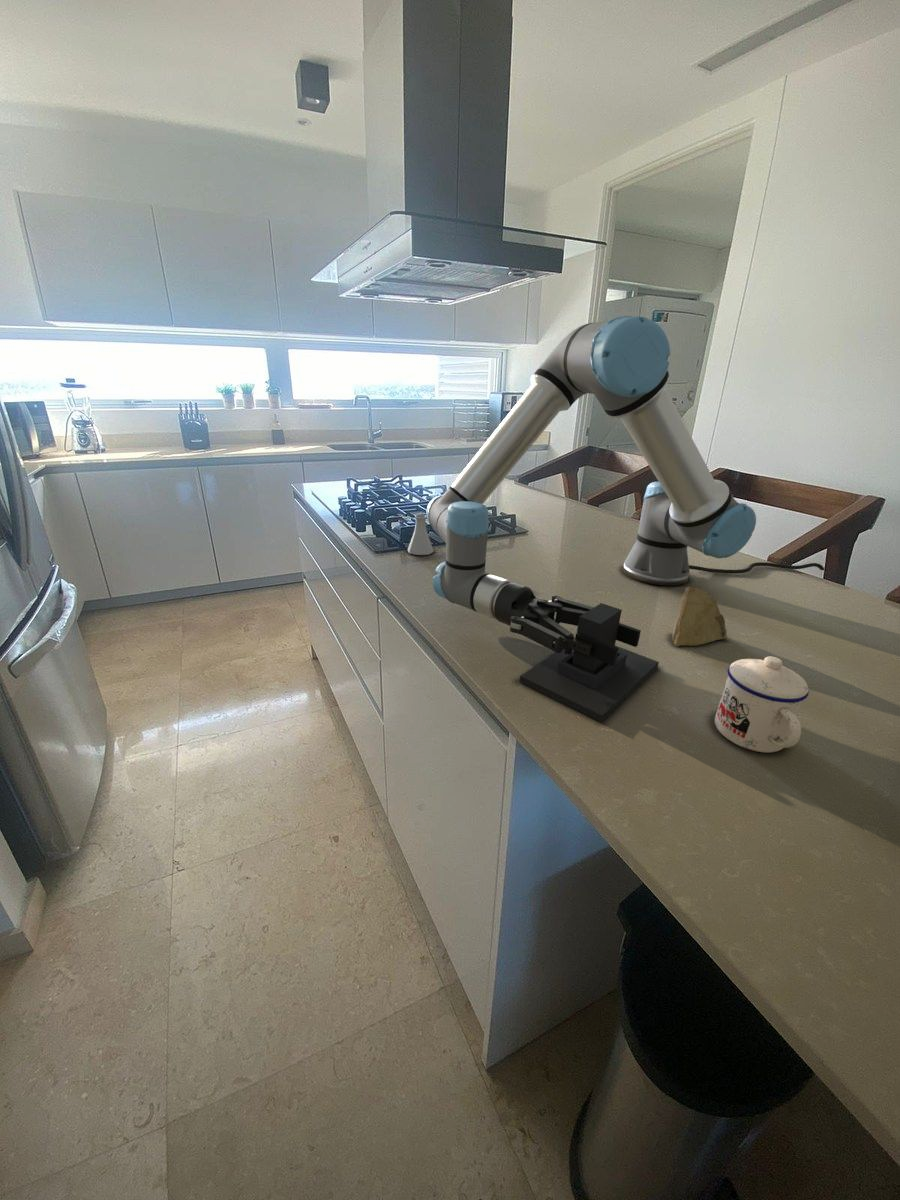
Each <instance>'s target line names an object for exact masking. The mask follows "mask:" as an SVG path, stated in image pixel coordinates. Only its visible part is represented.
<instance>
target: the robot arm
mask: <svg viewBox="0 0 900 1200" xmlns="http://www.w3.org/2000/svg"><path fill="white" fill-rule="evenodd" d="M670 356H671V345H670V342H669V339H668V336H667V334H666V332H665V331H664V329H663V328H662V326H660V325H659V324H658V322H656V321H654V320H652V319H650V318H648V317H645V316H640V315H639V316H633V315H623V316H618V317H615V318H612V319H610V320H603V321H597V322H589V323H585V324H582V325H580V326H578V327H576V328H575V329H573V330H572V331H570V332H569V333H568V334H566V336H564V338H562V340H560V341H559V343H558V344H557V345H556V346H555V347H554V348H553V350H551V352H550V353H549V354H548V355H547V357H546V358H545V359H544V360H543V361H542V363H541V364H540V365H539V366H538V368H537V369H536V370H535V372H534V373H533V374H532V375H531V377H530V385H529V388H528V389H526V391H525V392H524V394H523V395H522V396H521V398H519V400H518V401H517V403H516V404H515V405H514V406H513V407H512V409H511V410H510V411H509V412H508V414H507V415H506V416H505V418H504V419H503V420H502V421H501V422H500V424H499V425H498V426H497V428H496V429H495V430H494V431H493V432H492V434H491V435H490V436H489V437H488V439H487V440H486V441H485V443H483V445H482V446H481V447H480V449H479V450H478V451H477V452H476V454H475V455H474V456H473V458H472V459H471V460H470V461H469V462H468V463H467V465H465V467H464V469H463V470H462V471H461V472H460V473H459V475H458V476H457V478H456V479H455V480H454V481H453V483H452V484H451V485H450V486H449V487H448V488H447V490H446V491H445V492H444V493H443V494H439V495H437V496H435V497H433V498H431V500H430V501H429V502H428V504H427V506H426V509H425V515H426V516H427V518H426V520H427V521H428V523H429V525H430V527H431V528H432V530H433V531H434V533H436V534H437V535H439V537H440V538H441V539H442V540H443V542H445V560H444V561H443V562H441V563H439V565H438V566H437V567H436V568H435V570H434V572H435V573H434V575H433V576H432V587H433V588H432V589H433V590H434V592H435V593H436V595H437V596H439V597H441V598H443V599H444V600H447V601H448V602H450V603H451V604H455V605H459V606H461V607H464V608H467V609H468V610H472V611H474V612H476V613H478V614H481V615H484V616H486V617H488V618H489V619H493V620H496V621H498V622H499V623H502V624H504V625H506V626H509V632H511V633H514V634H517V635H521V636H523V637H525V638H527V639H529V640H531V641H533V642H535V643H537V644H539V645H541V646H543V647H544V648H547V649H549V650H550V651H553V652H554V653H555V652H557V653H561V652H562V649H565V651H564V654H567V655H569V654H571V651H572V649H573V650H575V651H578V652H580V653H583V654H585V655H588V656H590V657H593V658H595V659H598V660H600V661H603V662H605V663H607V664H610V665H612V666H613V665H615V664H616V659H617V653H618V647H619V646H618V647H615V646H616V645H615V646H612V645H610V644H607V643H605V642H602V641H599V640H597V639H594V638H591V637H589V636H586V635H584V634H581V633H577V632H576V633H575V634H574V633H573V632H571V631H569V630H568V629H567V628H565V627H564V626H562V625H561V624H566V625H571V626H576V627H578V622H579V616H581V615H583V614H584V613H586V612H587V611H589V610H591V609H592V608H594V607H595V606H591V605H587V604H584V603H580V602H576V601H574V600H571V599H570V600H569V599H566V598H563V597H562V596H559V595H558V594H557V595H556V594H552V596H551V599H549V600H548V599H544V598H540V597H539V598H538V597H536V595H535V594H534V592H533V589H531V587H529V586H526V585H524V584H520V583H517V582H515V581H511V580H510V579H507V578H503V577H501V576H497V575H494V574H492V573H489V572H487V571H486V563H487V562H486V561H487V559H486V558H487V549H488V548H487V547H488V535H489V534H488V533H489V528H490V523H489V509H488V507H487V505H485V502H486V501H487V500H488V499H489V497H490V496H491V495H492V494H493V493H494V491H495V490H496V489H497V488H498V486H499V485H500V484H501V483H502V482H503V481H504V479H505V478H506V477H507V476H508V475H509V473H510V472H511V471H512V470H513V469H514V468H515V466H516V465H517V464H518V462H519V461H521V459H522V457H523V456H524V455H525V454H526V453H527V452H528V451H529V449H531V447H532V445H534V443H535V442H536V441H537V440H538V439H539V437H540V436H541V435H542V434H543V433H544V431H545V430H547V429H546V428H548V426H549V425H550V424H551V423H552V422H553V420H554V419H555V418H556V417H557V416H558V415H559V413H560V412H564V411H565V412H566V411H568V410H569V409H570V408H571V407H572V406H573V405H574V403H575V402H576V401H577V400H578V399H580V398H581V397H583V396H584V395H587V394H589V395H590V394H592V395H594V396H595V398H596V400H597V401H598V403H599V404H600V406H601V407H602V409H603V411H604V412H605V414H606V416H608V417H609V418H613V419H614V418H615V419H620V420H621V423H622V424H623V426H624V427H625V429H626V430H627V432H628V434H629V435H630V437H631V438H632V441H633V442H634V444H635V445H636V447H637V449H638V450H639V452H640V453H641V455H642V456H643V458H644V459H645V461H646V463H647V465H648V466H649V468H650V470H651V471H652V473H653V475H654V476H655V478H656V479H657V481H653V482H650V483H649V484H648V485H647V486H646V489H645V493H644V496H643V501H642V507H641V511H640V518H639V523H638V530H637V535H636V539H635V543H634V544H633V546H632V548H631V550H630V552H628V555H627V557H626V559H625V560H624V562H623V566H622V567H623V568H622V571H623V573H624V574H625V575H626V576H628V577H629V578H631V579H633V580H636V581H638V582H641V583H646V584H650V585H656V586H679V585H683V584H685V583H687V582H688V581H689V577H690V570H694V571H701V572H707V573H716V574H745V573H748V572H750V571H751V570H752V569H753V568H754V567H772V568H778V569H787V570H804V569H807V568H813V567H815V568H818V569H819V570H820V571H825V570H826V569H825V567H824V566H823V565H822V564H820V563H817V562H810V563H805V564H800V565H799V564H798V565H790V564H783V563H782V564H781V563H775V562H765V561H761V562H759V561H758V562H753V563H751V564H749V565H748V566H747V567H746V568H739V569H723V568H712V567H704V566H700V565H699V566H698V565H692V564H689V556H688V547H689V548H691V549H693V550H695V551H698V552H699V553H701V554H704V555H705V556H707V557H712V558H715V559H727V558H730V557H732V556H734V555H735V554H738V553H739V552H740V551H741V550H742V549H744V547H745V546H746V545H747V544H748V542H749V541H750V539H751V538H752V536H753V533H754V531H755V529H756V525H757V516H756V512H755V510H754V509H753V508H752V507H751V506H749V505H747V503H743V502H741V503H740V502H738V501H737V500H736V499H735V497H734V496H733V493H732V491H731V490H730V488H729V486H728V484H727V483H726V482H724V481H722V480H719V479H714V477H713V475H712V473H711V470H710V469H709V467H708V466H707V463H706V461H705V459H704V458H703V456H702V454H701V453H700V451H699V449H698V447H697V445H696V443H695V442H694V439H693V437H692V435H691V434H690V432H689V430H688V427H687V426H686V424H685V422H684V420H683V418H682V416H681V414H680V412H679V411H678V409H677V408H676V406H675V404H674V402H673V400H672V398H671V396H670V394H669V393H668V390H667V389H666V387H667V385H668V383H669V381H670V372H669V371H668V369H669V365H670V361H669V357H670ZM641 631H642V630H641V629H638V628H635V627H632V626H629V625H627V624H624V623H621V622H619V627H618V632H617V637H616V641H618V642H619V643H623V644H626V645H628V646H631V647H634V648H637V647H638V646H639V642H640V638H641V637H640V636H641V633H642V632H641Z"/></svg>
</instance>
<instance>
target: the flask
mask: <svg viewBox="0 0 900 1200" xmlns="http://www.w3.org/2000/svg"><path fill="white" fill-rule="evenodd" d="M414 519H415V526H414V530H413V533H412V537H411V539H410V542H409V545H408V547H407V552H408V554H412V555H417V556H426V555H427V556H429V555H430V554H431V555H432V554H433V553H434V548H433V546H432V542H431V540H430V536H429V533H428V530H427V525H426V524H427V522H426V521H427V516H426V514H415V515H414Z"/></svg>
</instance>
